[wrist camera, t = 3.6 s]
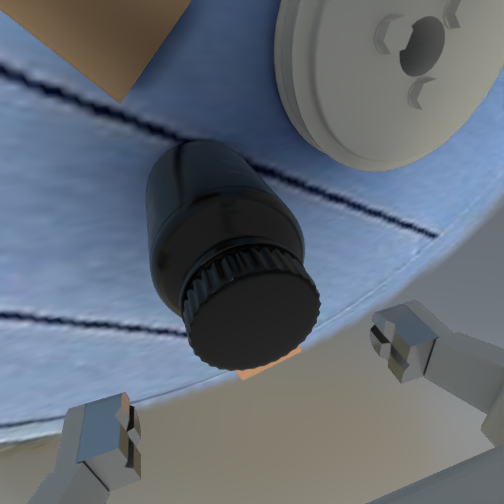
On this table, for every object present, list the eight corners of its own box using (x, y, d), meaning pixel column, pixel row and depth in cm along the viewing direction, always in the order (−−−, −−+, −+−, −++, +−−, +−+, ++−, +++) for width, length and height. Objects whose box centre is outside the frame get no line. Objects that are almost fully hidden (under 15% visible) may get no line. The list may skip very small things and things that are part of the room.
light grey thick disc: (348, 189, 24) (389, 220, 20) (220, 51, 17) (244, 54, 13) (492, 42, 21) (577, 42, 17) (409, -201, 14) (519, -300, 10)
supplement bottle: (213, 253, 23) (263, 405, 14) (124, 207, 20) (106, 368, 10) (274, 178, 21) (381, 292, 12) (187, 110, 18) (241, 196, 8)
